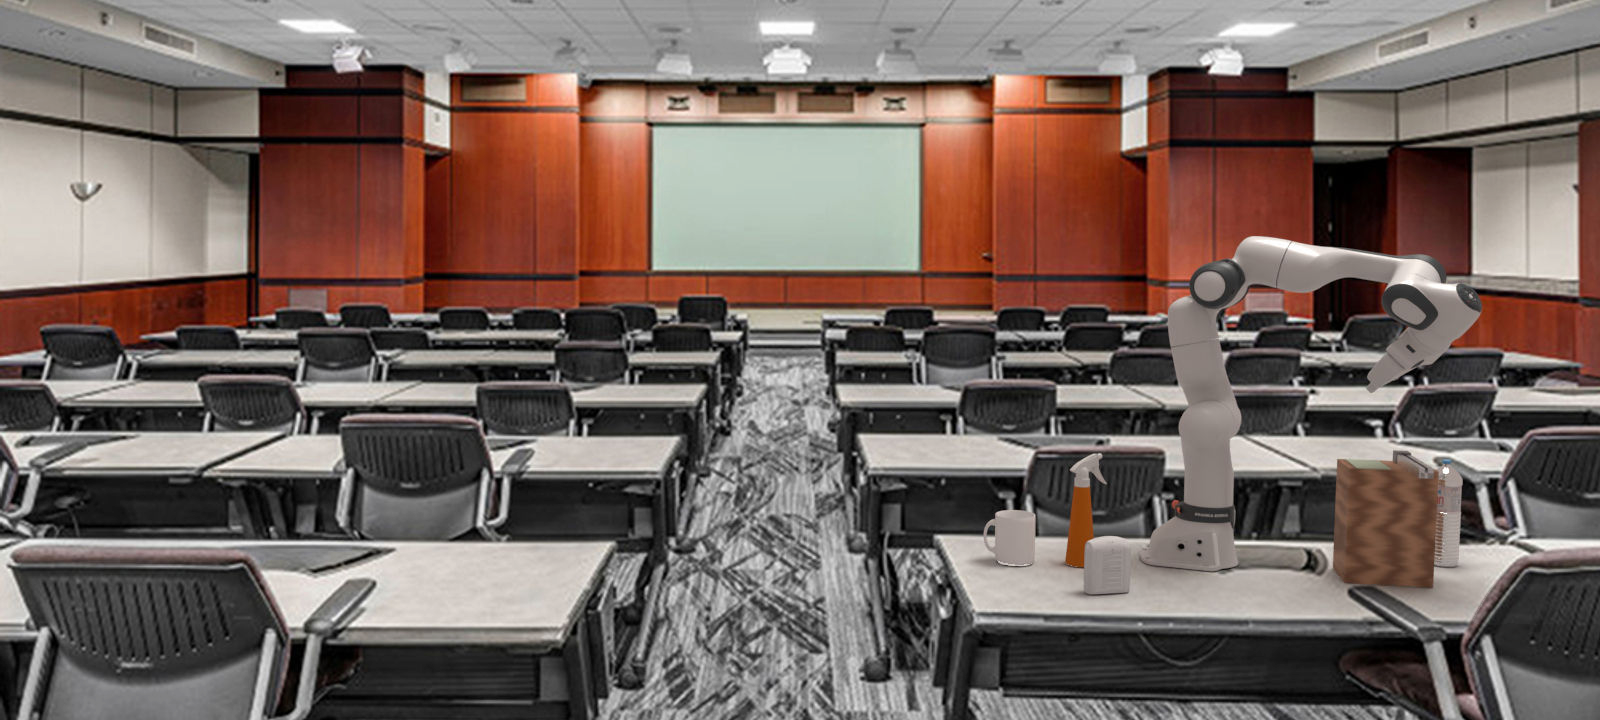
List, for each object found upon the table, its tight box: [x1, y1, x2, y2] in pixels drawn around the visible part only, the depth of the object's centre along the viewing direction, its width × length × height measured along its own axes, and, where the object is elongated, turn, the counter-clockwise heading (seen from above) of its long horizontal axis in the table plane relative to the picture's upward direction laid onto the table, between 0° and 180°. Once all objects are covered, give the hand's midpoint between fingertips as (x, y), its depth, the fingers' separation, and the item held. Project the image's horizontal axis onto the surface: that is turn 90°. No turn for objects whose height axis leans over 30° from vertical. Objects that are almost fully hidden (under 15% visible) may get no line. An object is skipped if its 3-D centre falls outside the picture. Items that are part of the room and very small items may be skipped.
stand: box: [1332, 458, 1439, 589], centre depth 258 cm, size 18×12×26 cm, turn 77°
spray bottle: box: [1064, 452, 1108, 567], centre depth 271 cm, size 7×11×26 cm, turn 116°
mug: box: [983, 509, 1036, 565], centre depth 273 cm, size 10×12×12 cm
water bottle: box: [1434, 458, 1464, 568], centre depth 269 cm, size 7×7×25 cm
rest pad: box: [1344, 458, 1391, 470], centre depth 257 cm, size 7×11×1 cm, turn 167°
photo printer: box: [1083, 535, 1132, 595], centre depth 248 cm, size 10×4×12 cm, turn 103°
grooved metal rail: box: [1392, 450, 1435, 479], centre depth 251 cm, size 20×3×3 cm, turn 167°
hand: (1380, 383), depth 260 cm, fingers open, 8 cm apart
